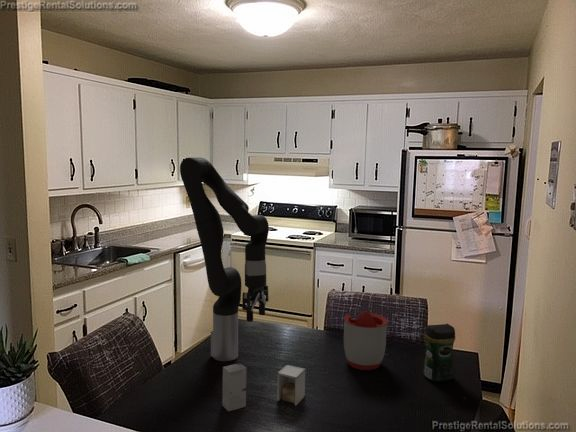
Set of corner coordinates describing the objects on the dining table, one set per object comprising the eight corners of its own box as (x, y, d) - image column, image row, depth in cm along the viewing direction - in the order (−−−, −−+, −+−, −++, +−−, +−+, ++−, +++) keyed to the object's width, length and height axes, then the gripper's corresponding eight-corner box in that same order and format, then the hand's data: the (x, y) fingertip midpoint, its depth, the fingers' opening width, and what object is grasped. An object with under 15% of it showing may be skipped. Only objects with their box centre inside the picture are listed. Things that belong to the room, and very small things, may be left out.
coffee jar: (443, 370, 167) (447, 320, 164) (456, 381, 159) (460, 328, 157) (419, 373, 164) (422, 321, 162) (431, 383, 157) (434, 330, 154)
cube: (282, 400, 145) (282, 387, 144) (288, 394, 148) (288, 382, 148) (294, 403, 143) (294, 390, 142) (299, 397, 146) (299, 385, 146)
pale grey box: (277, 400, 144) (277, 372, 143) (286, 391, 150) (286, 364, 149) (296, 405, 141) (296, 377, 140) (304, 396, 147) (305, 368, 146)
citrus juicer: (366, 350, 183) (368, 300, 180) (394, 369, 167) (397, 314, 165) (331, 357, 176) (333, 305, 173) (357, 377, 160) (360, 320, 158)
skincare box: (228, 412, 137) (228, 372, 135) (221, 405, 141) (221, 366, 139) (247, 406, 140) (247, 367, 139) (240, 399, 144) (240, 362, 142)
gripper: (256, 268, 172) (256, 311, 173) (235, 275, 159) (236, 322, 160) (274, 269, 169) (274, 314, 170) (254, 277, 156) (255, 325, 157)
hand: (256, 318), depth 165 cm, fingers open, 8 cm apart
